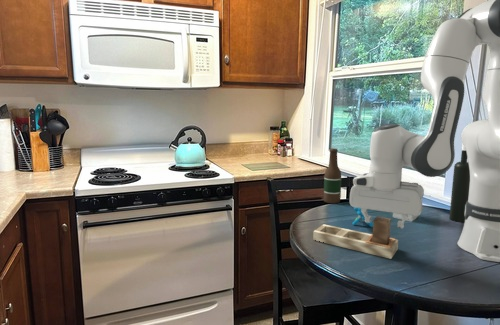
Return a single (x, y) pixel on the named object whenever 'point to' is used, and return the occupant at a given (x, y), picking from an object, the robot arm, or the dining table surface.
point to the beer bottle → (332, 180)
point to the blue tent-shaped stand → (360, 217)
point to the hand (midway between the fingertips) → (383, 224)
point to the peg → (381, 230)
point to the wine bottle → (460, 188)
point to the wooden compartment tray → (354, 241)
